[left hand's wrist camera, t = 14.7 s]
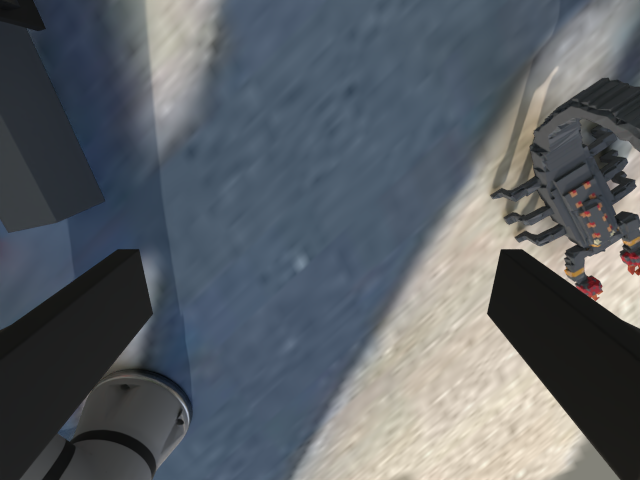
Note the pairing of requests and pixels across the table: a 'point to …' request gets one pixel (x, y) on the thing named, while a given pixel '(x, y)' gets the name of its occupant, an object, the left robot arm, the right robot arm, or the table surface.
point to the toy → (584, 179)
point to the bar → (36, 143)
